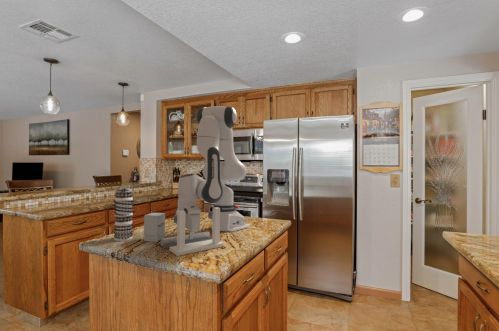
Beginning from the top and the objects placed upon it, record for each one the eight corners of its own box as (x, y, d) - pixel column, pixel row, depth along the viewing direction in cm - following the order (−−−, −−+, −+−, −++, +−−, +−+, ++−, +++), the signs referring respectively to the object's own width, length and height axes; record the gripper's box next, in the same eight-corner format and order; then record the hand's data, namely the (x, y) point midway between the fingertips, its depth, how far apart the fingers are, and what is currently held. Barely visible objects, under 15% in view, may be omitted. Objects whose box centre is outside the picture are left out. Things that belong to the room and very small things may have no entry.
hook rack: (213, 241, 128) (214, 205, 128) (223, 246, 121) (223, 208, 121) (169, 250, 114) (170, 209, 114) (177, 255, 108) (178, 213, 108)
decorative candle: (120, 242, 124) (121, 189, 124) (109, 239, 129) (109, 188, 129) (137, 237, 132) (138, 188, 132) (126, 235, 137) (126, 187, 137)
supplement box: (157, 242, 126) (157, 215, 126) (143, 241, 127) (143, 214, 127) (165, 238, 133) (165, 213, 133) (151, 237, 134) (152, 212, 134)
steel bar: (207, 236, 135) (207, 231, 135) (209, 237, 133) (209, 232, 133) (160, 244, 120) (161, 238, 120) (162, 245, 118) (162, 239, 118)
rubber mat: (204, 236, 137) (204, 234, 137) (212, 240, 131) (212, 238, 131) (158, 244, 122) (158, 242, 122) (164, 248, 116) (164, 247, 116)
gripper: (172, 205, 133) (172, 232, 133) (190, 211, 117) (189, 242, 117) (184, 204, 137) (183, 230, 137) (202, 210, 121) (202, 240, 121)
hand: (186, 236), depth 127 cm, fingers open, 8 cm apart
